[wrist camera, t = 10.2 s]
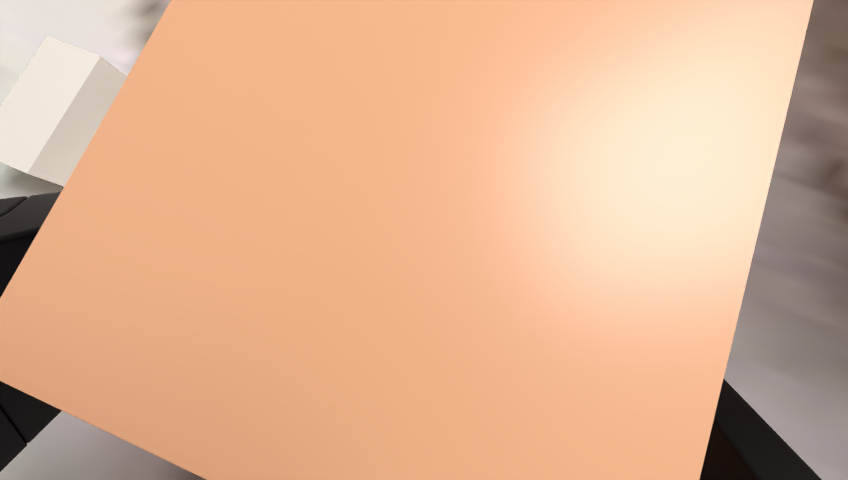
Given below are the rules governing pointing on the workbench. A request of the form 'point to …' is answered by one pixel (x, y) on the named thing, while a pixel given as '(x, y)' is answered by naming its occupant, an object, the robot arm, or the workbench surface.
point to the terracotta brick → (413, 237)
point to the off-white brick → (56, 110)
